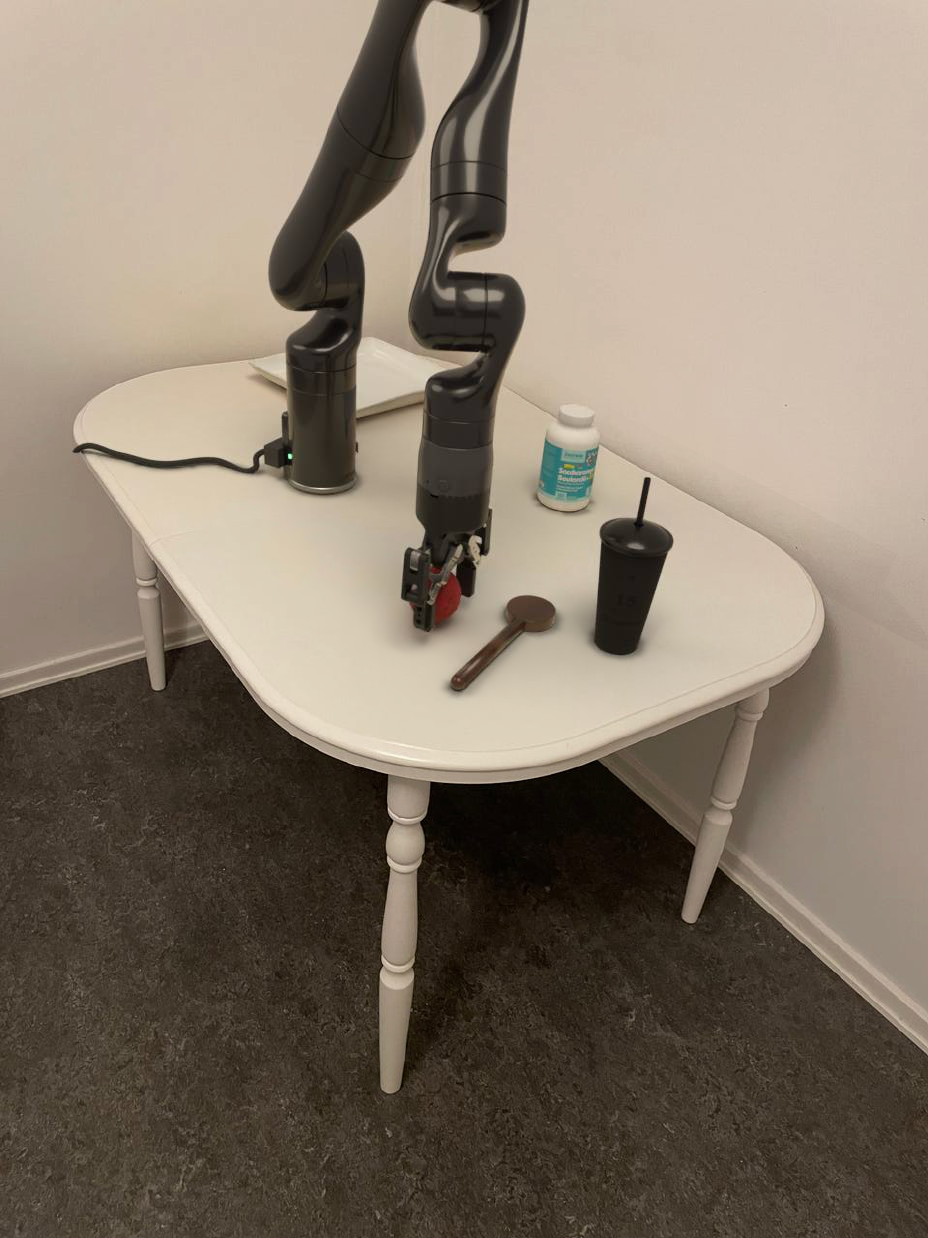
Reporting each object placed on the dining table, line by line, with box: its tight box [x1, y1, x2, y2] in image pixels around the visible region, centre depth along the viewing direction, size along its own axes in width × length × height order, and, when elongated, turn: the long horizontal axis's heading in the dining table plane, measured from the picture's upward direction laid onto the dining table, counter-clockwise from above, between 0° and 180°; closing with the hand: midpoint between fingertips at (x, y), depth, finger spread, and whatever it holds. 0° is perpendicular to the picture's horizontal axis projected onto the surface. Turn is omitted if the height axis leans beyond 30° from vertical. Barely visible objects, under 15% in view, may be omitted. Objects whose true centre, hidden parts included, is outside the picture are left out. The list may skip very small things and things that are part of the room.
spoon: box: [450, 594, 557, 691], centre depth 104 cm, size 6×20×2 cm, turn 149°
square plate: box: [248, 336, 448, 419], centre depth 164 cm, size 27×27×4 cm
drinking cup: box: [593, 476, 675, 656], centre depth 101 cm, size 8×8×20 cm
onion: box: [408, 567, 462, 624], centre depth 105 cm, size 6×6×8 cm
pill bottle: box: [536, 403, 601, 512], centre depth 131 cm, size 8×7×14 cm
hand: (444, 611), depth 106 cm, fingers open, 8 cm apart
